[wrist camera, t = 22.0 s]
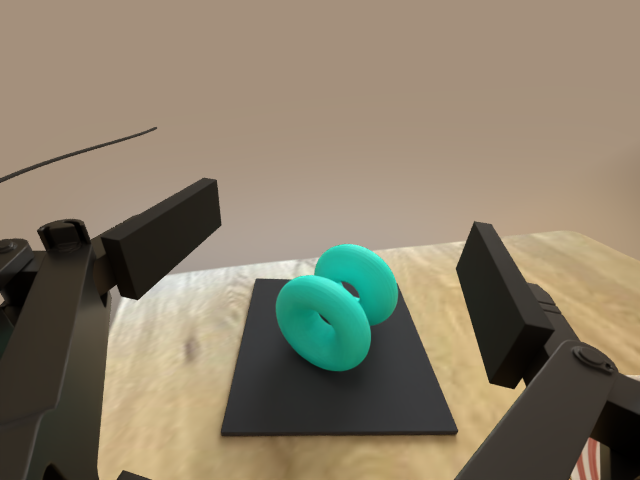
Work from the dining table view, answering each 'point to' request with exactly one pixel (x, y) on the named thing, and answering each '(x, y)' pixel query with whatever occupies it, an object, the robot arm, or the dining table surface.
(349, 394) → the placemat
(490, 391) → the dining table surface
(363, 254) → the donuts
